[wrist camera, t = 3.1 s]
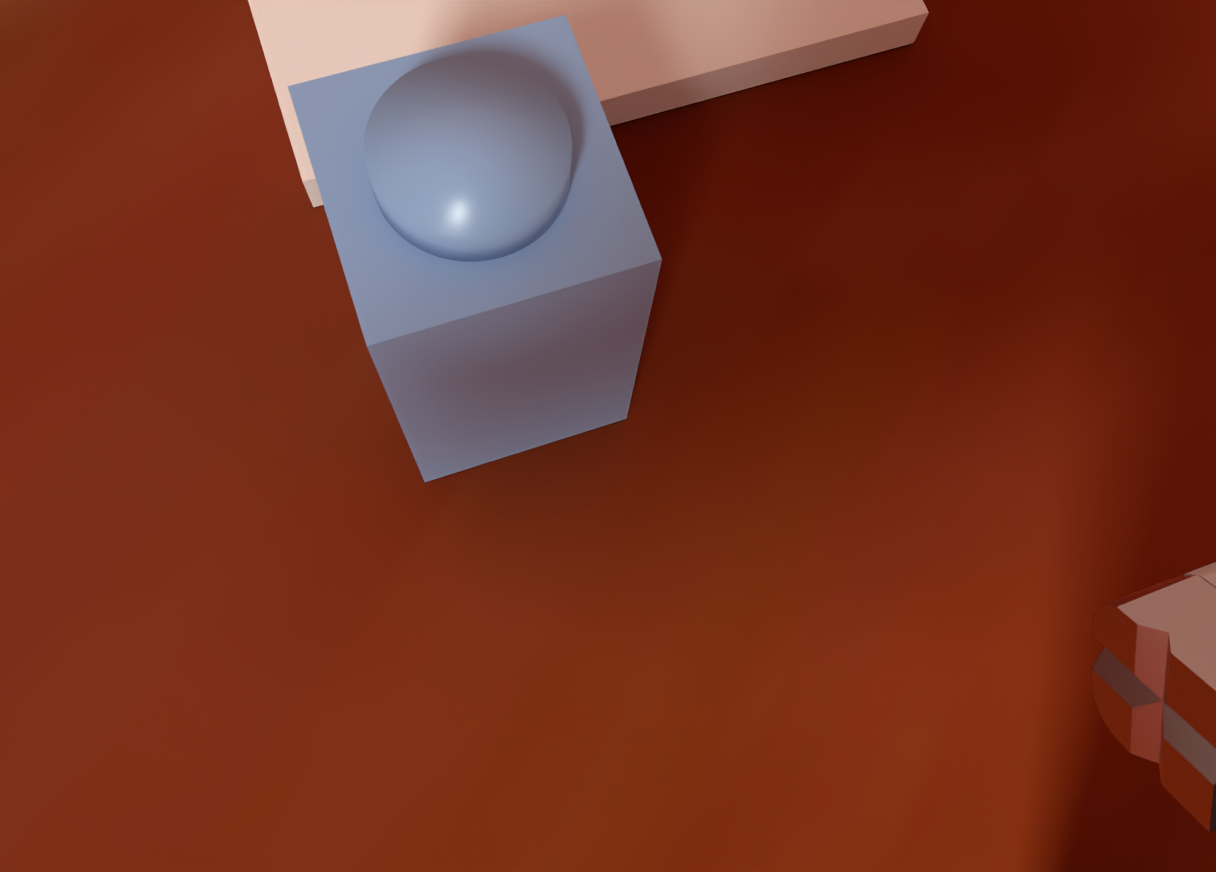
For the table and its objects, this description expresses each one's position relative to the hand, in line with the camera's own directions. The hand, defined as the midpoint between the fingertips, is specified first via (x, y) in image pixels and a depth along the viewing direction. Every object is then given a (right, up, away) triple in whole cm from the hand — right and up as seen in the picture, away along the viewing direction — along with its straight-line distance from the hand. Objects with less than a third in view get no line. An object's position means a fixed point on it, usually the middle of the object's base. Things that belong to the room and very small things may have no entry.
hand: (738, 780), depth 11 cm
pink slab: (-3, +19, +19) cm, 27 cm away
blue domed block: (-4, +5, +15) cm, 16 cm away
